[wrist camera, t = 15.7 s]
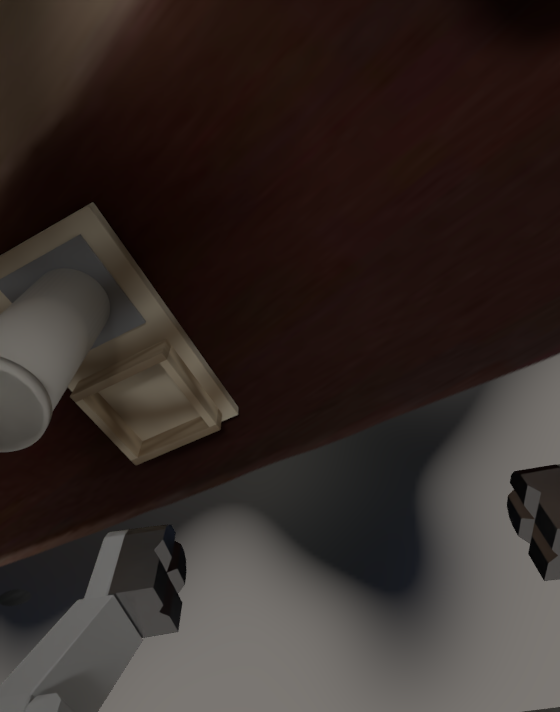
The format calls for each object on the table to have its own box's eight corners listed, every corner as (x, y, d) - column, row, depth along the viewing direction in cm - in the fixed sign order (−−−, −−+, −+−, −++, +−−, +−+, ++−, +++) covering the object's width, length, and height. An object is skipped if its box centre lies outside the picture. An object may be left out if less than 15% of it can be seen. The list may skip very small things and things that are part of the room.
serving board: (-29, 272, 39) (-54, 289, 36) (93, 201, 36) (77, 213, 33) (137, 450, 51) (129, 475, 48) (238, 407, 48) (237, 430, 45)
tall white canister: (96, 259, 38) (16, 351, 25) (123, 330, 41) (65, 443, 28) (-16, 278, 38) (-152, 378, 25) (21, 347, 41) (-83, 466, 29)
